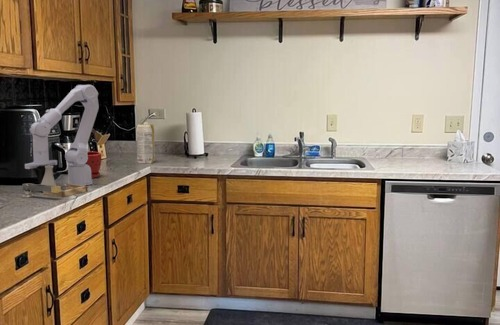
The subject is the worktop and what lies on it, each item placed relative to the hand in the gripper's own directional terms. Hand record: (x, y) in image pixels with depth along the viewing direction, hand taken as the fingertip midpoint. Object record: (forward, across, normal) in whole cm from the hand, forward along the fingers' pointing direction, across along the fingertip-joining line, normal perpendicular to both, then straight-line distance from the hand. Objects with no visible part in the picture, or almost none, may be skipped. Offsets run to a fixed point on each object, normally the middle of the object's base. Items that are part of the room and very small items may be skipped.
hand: (42, 184), depth 192 cm
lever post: (+2, +11, +5) cm, 13 cm away
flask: (+2, 0, +4) cm, 4 cm away
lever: (0, +11, +12) cm, 16 cm away
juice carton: (+2, -85, -12) cm, 86 cm away
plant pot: (+3, -32, -6) cm, 33 cm away
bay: (+2, 0, +13) cm, 13 cm away
